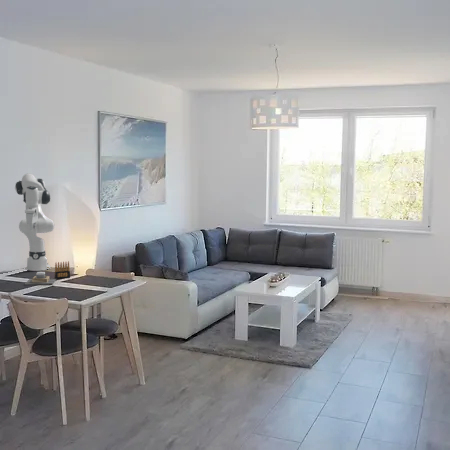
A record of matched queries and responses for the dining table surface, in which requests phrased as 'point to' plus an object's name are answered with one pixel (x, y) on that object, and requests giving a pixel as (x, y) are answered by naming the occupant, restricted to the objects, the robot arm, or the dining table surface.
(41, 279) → the end holder
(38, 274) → the connector
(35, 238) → the robot arm
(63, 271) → the ammunition clip
